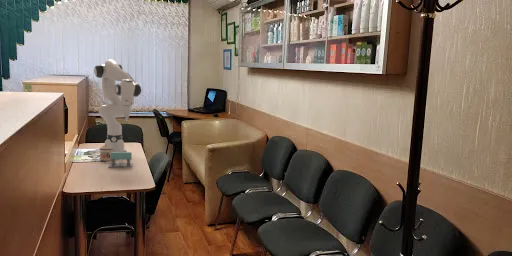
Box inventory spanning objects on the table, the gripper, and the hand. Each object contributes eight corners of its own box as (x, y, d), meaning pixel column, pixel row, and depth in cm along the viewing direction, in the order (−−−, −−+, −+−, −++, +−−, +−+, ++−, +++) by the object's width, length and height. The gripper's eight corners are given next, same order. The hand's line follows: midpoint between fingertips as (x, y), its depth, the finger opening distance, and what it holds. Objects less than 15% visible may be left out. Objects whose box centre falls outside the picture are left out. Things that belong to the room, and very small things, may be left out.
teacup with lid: (98, 160, 306) (98, 145, 304) (100, 158, 315) (100, 143, 313) (115, 160, 308) (115, 145, 307) (117, 158, 317) (117, 143, 315)
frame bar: (110, 158, 293) (110, 151, 292) (131, 158, 296) (131, 152, 295) (110, 159, 290) (110, 152, 290) (131, 159, 294) (131, 152, 293)
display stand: (109, 164, 297) (110, 156, 296) (133, 164, 301) (133, 156, 300) (108, 167, 287) (108, 160, 286) (132, 167, 291) (132, 160, 290)
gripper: (123, 100, 309) (123, 118, 311) (121, 102, 289) (121, 122, 291) (132, 100, 310) (132, 118, 312) (131, 103, 291) (130, 122, 293)
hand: (127, 120), depth 302 cm, fingers open, 8 cm apart
